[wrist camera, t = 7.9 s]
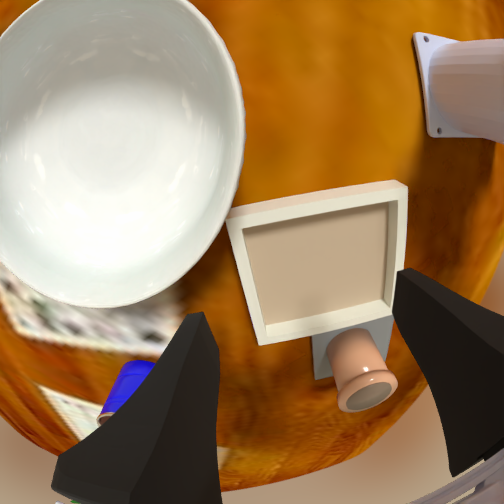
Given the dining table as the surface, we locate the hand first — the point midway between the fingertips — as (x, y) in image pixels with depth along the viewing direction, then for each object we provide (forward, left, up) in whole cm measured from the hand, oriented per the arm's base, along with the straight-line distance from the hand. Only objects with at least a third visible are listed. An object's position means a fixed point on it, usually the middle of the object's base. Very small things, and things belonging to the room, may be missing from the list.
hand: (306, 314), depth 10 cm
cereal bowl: (+9, -8, -10) cm, 16 cm away
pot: (-5, +14, -9) cm, 17 cm away
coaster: (-6, +15, -10) cm, 18 cm away
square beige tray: (-3, +5, -10) cm, 11 cm away
